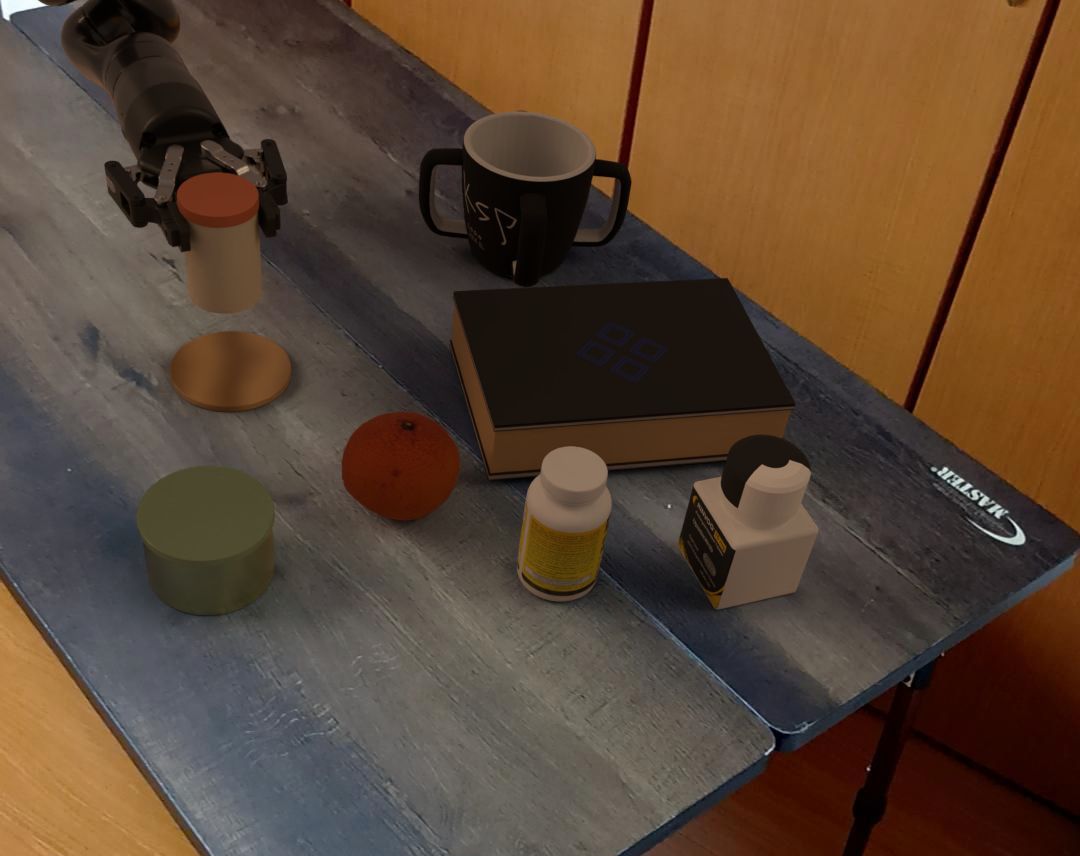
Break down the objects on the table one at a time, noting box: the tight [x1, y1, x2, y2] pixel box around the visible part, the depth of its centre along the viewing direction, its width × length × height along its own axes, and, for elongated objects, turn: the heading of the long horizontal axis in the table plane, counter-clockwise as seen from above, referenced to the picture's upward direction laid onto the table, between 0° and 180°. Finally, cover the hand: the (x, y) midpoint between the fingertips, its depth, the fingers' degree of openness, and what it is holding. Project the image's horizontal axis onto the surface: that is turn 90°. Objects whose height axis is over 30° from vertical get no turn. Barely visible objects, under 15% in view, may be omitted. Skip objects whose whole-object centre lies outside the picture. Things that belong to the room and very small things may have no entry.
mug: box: [418, 110, 633, 288], centre depth 124 cm, size 16×16×12 cm
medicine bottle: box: [677, 435, 819, 611], centre depth 98 cm, size 7×7×12 cm
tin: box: [135, 465, 276, 616], centre depth 94 cm, size 9×9×6 cm
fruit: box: [341, 411, 461, 521], centre depth 101 cm, size 9×9×8 cm
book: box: [448, 277, 797, 481], centre depth 112 cm, size 17×25×7 cm
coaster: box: [169, 330, 292, 413], centre depth 112 cm, size 10×10×1 cm
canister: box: [177, 173, 263, 315], centre depth 103 cm, size 6×6×9 cm
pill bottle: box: [516, 446, 613, 603], centre depth 96 cm, size 6×6×11 cm
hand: (229, 234), depth 99 cm, fingers closed on canister, 6 cm apart
